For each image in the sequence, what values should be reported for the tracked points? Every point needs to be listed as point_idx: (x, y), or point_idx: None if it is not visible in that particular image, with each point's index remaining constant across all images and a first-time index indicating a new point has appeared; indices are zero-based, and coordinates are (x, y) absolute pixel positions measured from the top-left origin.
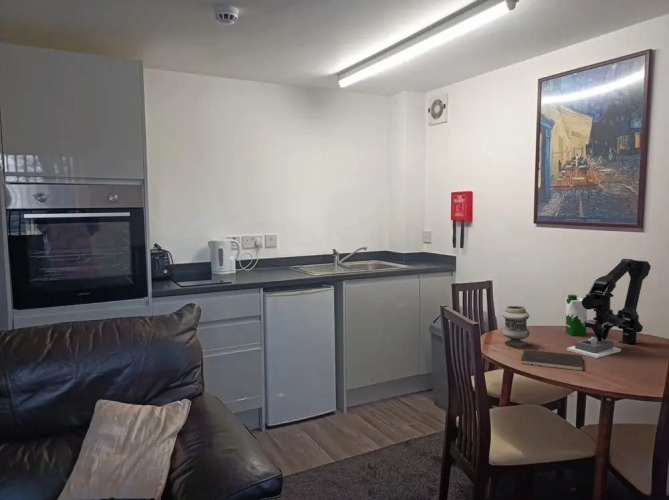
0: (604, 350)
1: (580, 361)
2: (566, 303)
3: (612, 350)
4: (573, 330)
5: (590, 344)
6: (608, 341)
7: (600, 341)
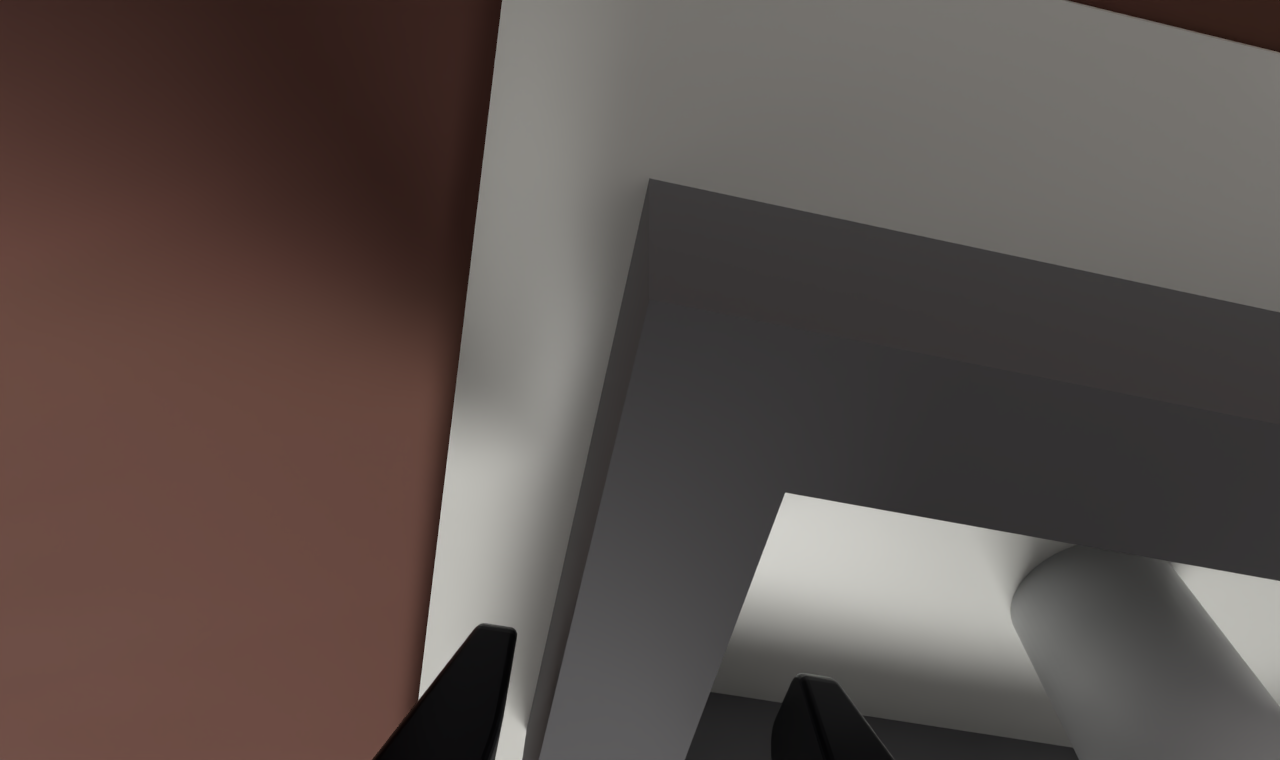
0: (1236, 305)
1: None
2: None
3: (1044, 84)
4: None
5: None
6: (796, 476)
7: (825, 683)
